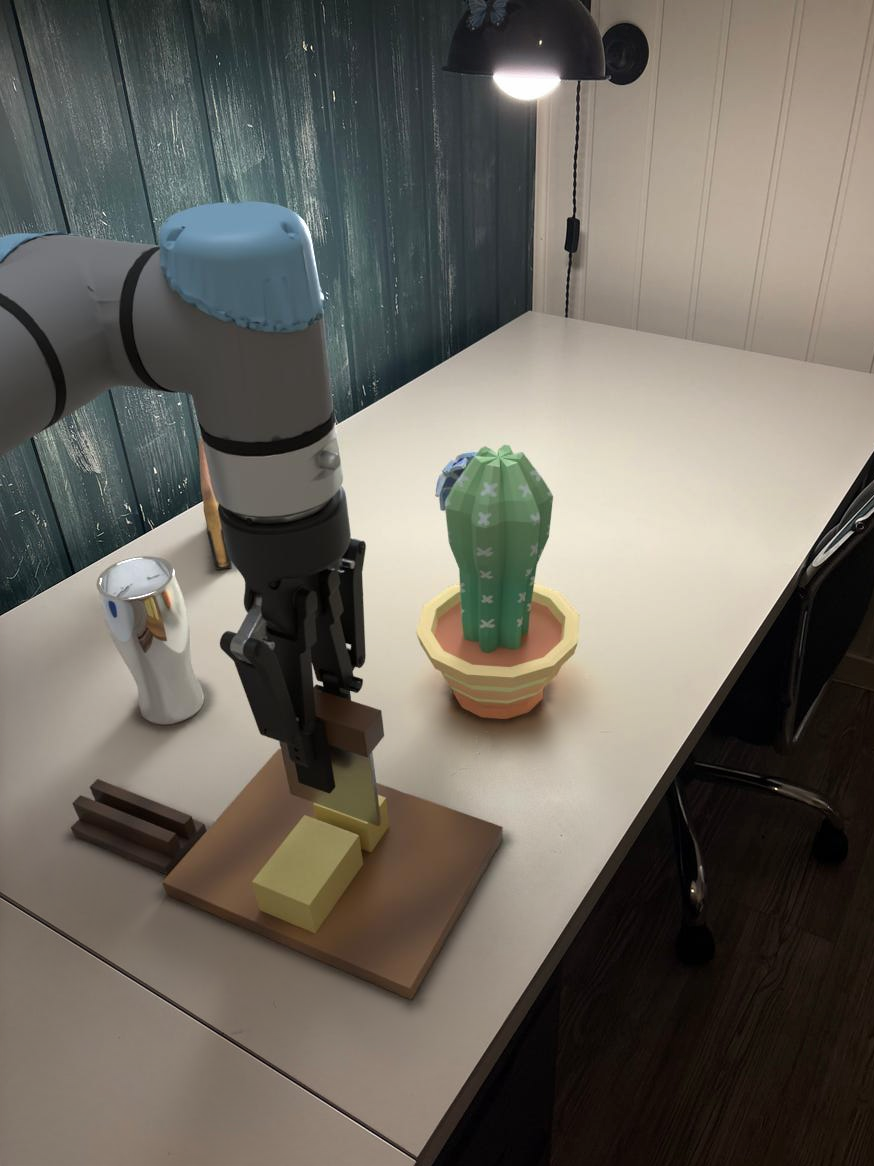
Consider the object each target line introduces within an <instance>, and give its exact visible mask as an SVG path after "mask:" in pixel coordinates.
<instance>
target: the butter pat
mask: <svg viewBox="0 0 874 1166" xmlns="http://www.w3.org/2000/svg"><path fill="white" fill-rule="evenodd" d="M378 801H379V808H380V816H381V824H380V826H377V825H374V824H371V823H368V822H366V821H363V820H360V819H357V818H355V817H352V816H349V815H346V814H344V813H341V812H338V811H335V810H333V809H330V808H327V807H324V806H322V805H319V804H316V803H314V804H313V806H314V811H315V817H316V820H319V821H322V822H324V823H327V824H330V825H332V826H335V827H338V828H340V829H343V830H346V831H348V832H351V833H354V834H356V835H359V839H360V845H361V849H363V850H366V851H368V852H372V851H373V849H374V848H375V846H376V845H377V843H378V842H379V840H380V839H381V837H382V836H383V835H384V833H385V832H386V830H387V829H388V827H389V820H388V811H387V802H386V798H385V797H382V796H380V795H378Z"/></svg>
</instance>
